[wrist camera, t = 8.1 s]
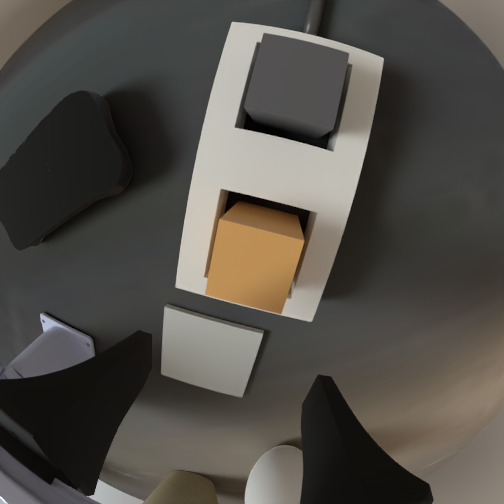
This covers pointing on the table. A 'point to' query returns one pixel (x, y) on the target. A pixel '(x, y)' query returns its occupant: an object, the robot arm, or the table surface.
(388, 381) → the table surface
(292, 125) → the dark grey block
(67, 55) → the table surface
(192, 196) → the white slotted board
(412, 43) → the table surface
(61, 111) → the black sponge
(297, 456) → the sauce bottle
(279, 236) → the orange plug
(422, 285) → the table surface
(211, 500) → the plant pot
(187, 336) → the grey mat
